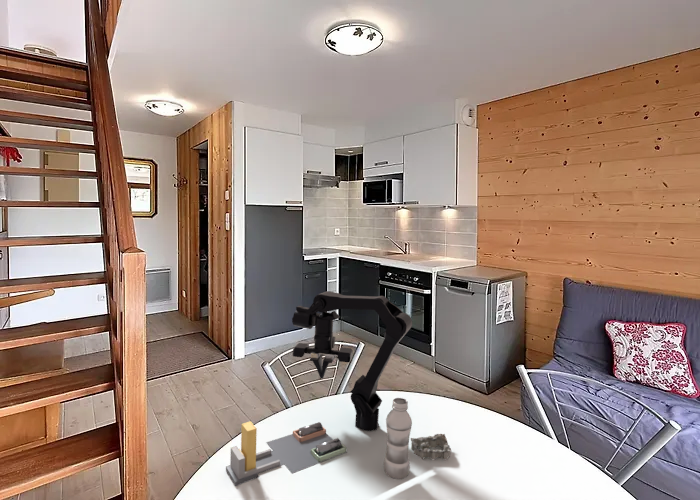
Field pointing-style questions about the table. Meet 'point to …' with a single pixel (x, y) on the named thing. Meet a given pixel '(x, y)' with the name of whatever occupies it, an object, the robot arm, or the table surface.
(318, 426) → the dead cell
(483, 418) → the table surface
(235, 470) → the checker
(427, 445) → the egg carton
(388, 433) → the plastic bottle
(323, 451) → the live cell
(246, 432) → the tall mustard pillar
